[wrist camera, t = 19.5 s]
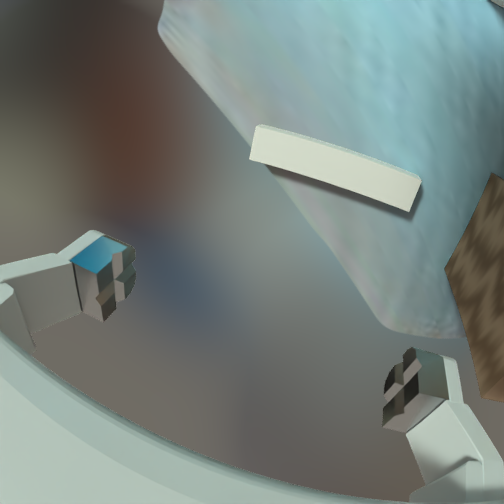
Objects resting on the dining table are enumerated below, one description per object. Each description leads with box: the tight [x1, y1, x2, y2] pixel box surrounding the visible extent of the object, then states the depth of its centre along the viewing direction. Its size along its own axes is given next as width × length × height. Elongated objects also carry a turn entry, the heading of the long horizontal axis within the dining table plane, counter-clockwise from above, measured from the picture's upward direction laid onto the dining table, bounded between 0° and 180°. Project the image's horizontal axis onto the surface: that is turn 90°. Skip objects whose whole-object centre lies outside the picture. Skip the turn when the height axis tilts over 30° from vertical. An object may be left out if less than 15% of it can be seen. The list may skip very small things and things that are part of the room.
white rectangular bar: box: [249, 124, 422, 212], centre depth 42 cm, size 5×24×3 cm, turn 78°
